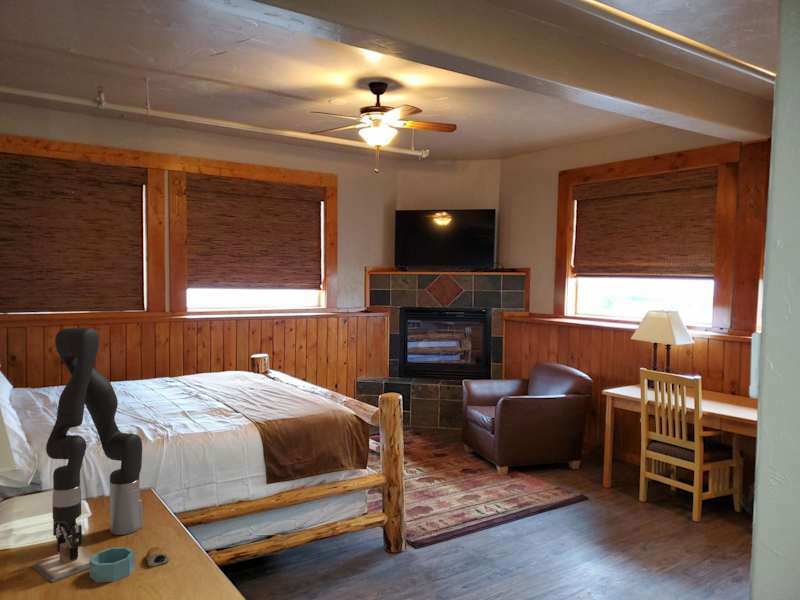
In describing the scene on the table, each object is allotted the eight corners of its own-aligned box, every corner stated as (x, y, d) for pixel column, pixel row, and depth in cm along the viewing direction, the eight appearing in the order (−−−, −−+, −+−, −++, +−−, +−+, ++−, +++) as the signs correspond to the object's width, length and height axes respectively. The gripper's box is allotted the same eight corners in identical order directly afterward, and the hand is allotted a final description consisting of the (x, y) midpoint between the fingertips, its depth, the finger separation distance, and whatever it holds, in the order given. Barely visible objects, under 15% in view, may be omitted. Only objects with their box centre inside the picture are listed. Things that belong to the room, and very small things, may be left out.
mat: (83, 548, 188) (83, 547, 188) (105, 562, 179) (105, 561, 179) (31, 566, 176) (31, 565, 176) (52, 582, 167) (52, 581, 167)
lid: (81, 549, 186) (81, 530, 186) (100, 561, 178) (100, 542, 178) (36, 565, 176) (35, 545, 176) (54, 578, 168) (54, 558, 168)
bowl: (121, 559, 181) (121, 543, 180) (140, 570, 174) (140, 554, 174) (84, 573, 172) (84, 557, 172) (102, 586, 165) (102, 568, 165)
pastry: (143, 556, 183) (143, 544, 183) (165, 551, 187) (165, 539, 187) (148, 568, 176) (148, 556, 175) (172, 563, 179) (172, 550, 179)
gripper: (90, 503, 175) (91, 557, 176) (69, 492, 184) (70, 543, 184) (63, 511, 169) (64, 566, 170) (43, 499, 178) (44, 552, 178)
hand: (67, 554), depth 177 cm, fingers open, 8 cm apart
